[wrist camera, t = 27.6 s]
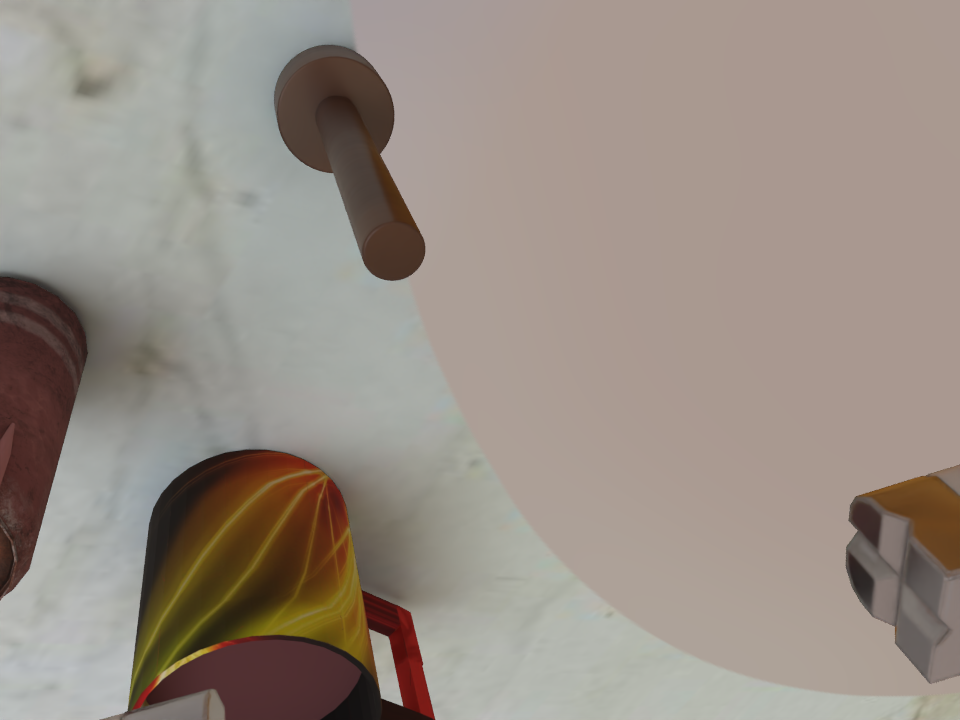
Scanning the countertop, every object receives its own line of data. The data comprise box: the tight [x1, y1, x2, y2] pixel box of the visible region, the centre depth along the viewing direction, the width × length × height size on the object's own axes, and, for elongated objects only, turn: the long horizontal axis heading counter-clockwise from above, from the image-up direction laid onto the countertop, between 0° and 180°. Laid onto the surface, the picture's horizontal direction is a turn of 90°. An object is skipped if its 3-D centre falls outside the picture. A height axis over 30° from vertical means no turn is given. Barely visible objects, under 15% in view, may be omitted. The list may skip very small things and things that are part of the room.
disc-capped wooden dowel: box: [274, 45, 425, 281], centre depth 29 cm, size 4×4×16 cm
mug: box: [128, 450, 435, 720], centre depth 41 cm, size 10×14×12 cm
